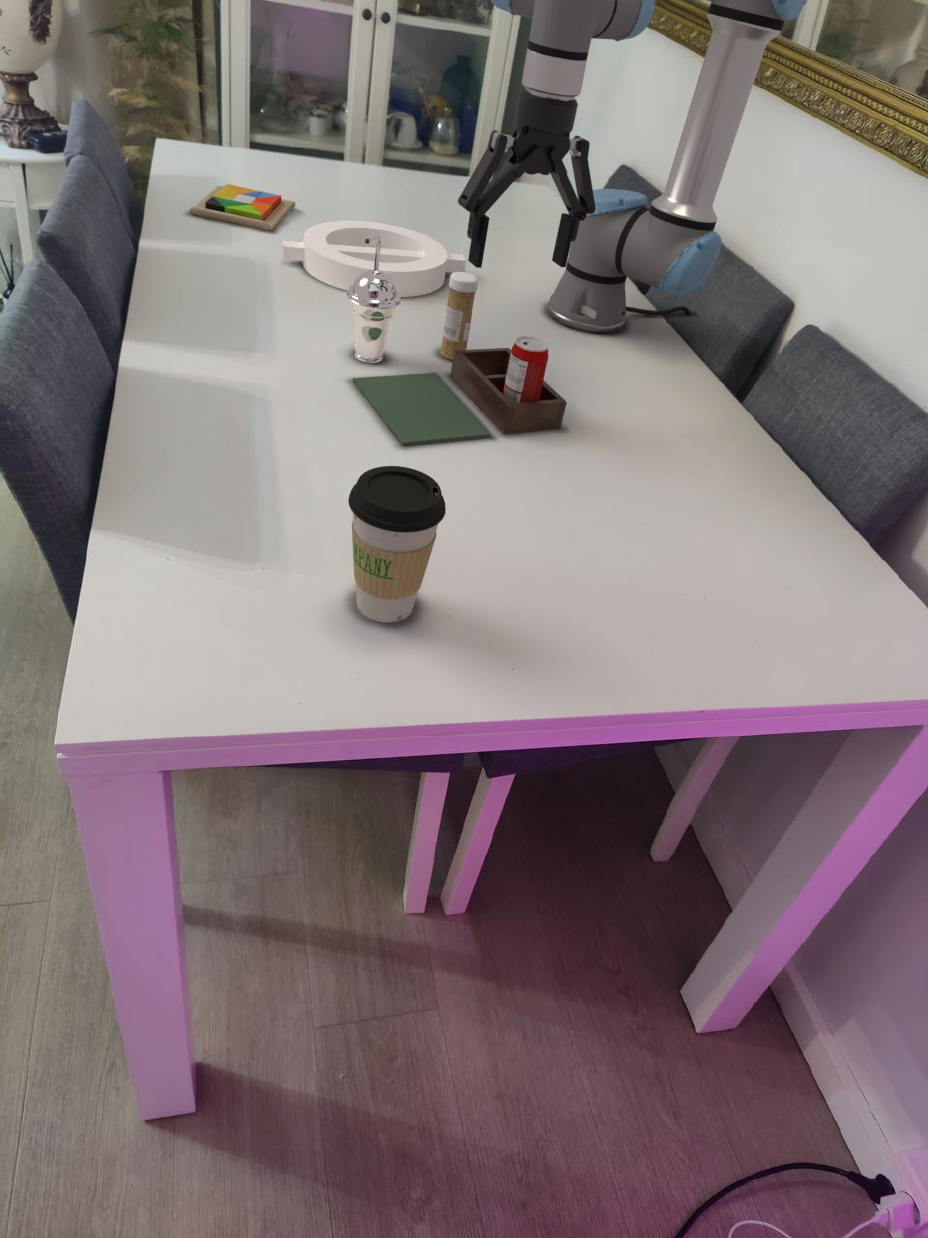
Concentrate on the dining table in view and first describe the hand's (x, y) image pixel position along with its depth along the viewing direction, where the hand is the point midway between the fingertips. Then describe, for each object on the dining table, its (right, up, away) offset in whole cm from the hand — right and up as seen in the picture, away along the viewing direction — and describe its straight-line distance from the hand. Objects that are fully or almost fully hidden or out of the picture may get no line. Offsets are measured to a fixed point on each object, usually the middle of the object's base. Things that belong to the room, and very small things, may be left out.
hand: (517, 264), depth 127 cm
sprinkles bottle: (-9, -5, +26) cm, 28 cm away
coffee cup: (-16, -48, -27) cm, 58 cm away
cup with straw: (-23, -7, +21) cm, 32 cm away
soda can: (+1, -19, +13) cm, 22 cm away
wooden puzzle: (-55, +37, +67) cm, 94 cm away
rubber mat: (-14, -18, +9) cm, 25 cm away
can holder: (-1, -16, +16) cm, 22 cm away
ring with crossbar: (-25, +19, +52) cm, 61 cm away
